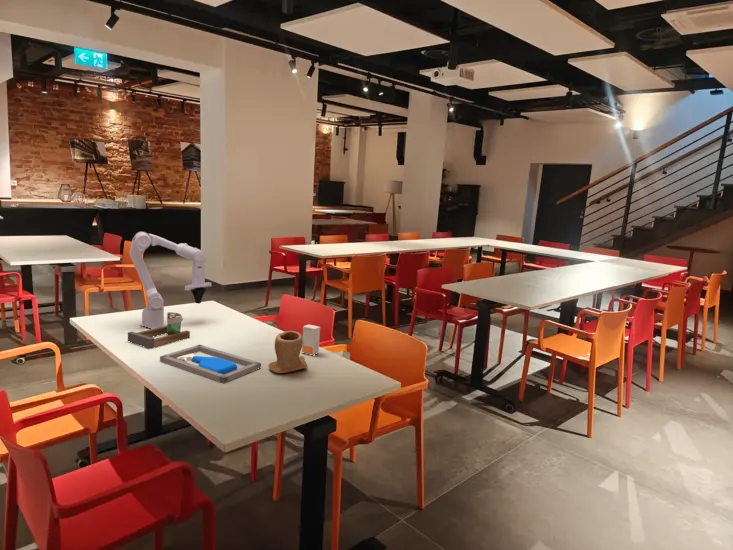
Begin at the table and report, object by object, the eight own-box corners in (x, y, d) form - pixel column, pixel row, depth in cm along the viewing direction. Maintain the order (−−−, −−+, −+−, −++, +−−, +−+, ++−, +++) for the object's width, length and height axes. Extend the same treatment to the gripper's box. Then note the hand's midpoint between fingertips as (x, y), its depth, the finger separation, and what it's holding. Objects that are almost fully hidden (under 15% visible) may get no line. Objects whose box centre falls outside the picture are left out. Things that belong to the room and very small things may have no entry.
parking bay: (132, 340, 205) (132, 333, 204) (168, 331, 220) (168, 325, 220) (154, 347, 198) (154, 340, 198) (189, 337, 214) (189, 331, 213)
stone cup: (278, 378, 176) (280, 339, 173) (264, 368, 185) (266, 330, 183) (315, 372, 185) (317, 334, 182) (299, 362, 194) (301, 325, 192)
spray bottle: (240, 363, 181) (196, 349, 194) (216, 371, 172) (172, 355, 185) (239, 370, 182) (196, 356, 194) (216, 379, 173) (172, 363, 185)
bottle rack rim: (160, 361, 184) (160, 356, 184) (199, 349, 200) (199, 344, 200) (223, 383, 168) (223, 377, 168) (260, 368, 185) (261, 363, 184)
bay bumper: (127, 341, 203) (127, 332, 202) (132, 340, 205) (132, 331, 204) (149, 348, 196) (149, 339, 196) (154, 347, 198) (154, 338, 198)
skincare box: (301, 353, 204) (302, 326, 202) (307, 351, 208) (308, 323, 206) (313, 356, 202) (314, 328, 199) (318, 354, 205) (320, 326, 203)
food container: (183, 341, 209) (183, 318, 207) (167, 342, 206) (168, 319, 204) (181, 333, 220) (182, 311, 218) (167, 333, 217) (167, 311, 216)
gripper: (192, 278, 223) (191, 307, 225) (216, 274, 235) (215, 302, 238) (181, 276, 226) (181, 304, 229) (205, 272, 239) (205, 299, 241)
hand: (198, 303), depth 233 cm, fingers closed
